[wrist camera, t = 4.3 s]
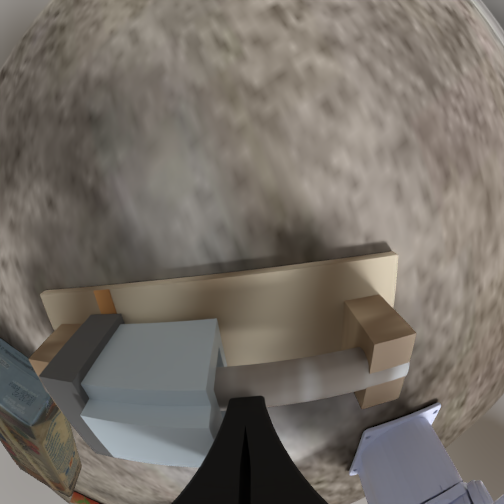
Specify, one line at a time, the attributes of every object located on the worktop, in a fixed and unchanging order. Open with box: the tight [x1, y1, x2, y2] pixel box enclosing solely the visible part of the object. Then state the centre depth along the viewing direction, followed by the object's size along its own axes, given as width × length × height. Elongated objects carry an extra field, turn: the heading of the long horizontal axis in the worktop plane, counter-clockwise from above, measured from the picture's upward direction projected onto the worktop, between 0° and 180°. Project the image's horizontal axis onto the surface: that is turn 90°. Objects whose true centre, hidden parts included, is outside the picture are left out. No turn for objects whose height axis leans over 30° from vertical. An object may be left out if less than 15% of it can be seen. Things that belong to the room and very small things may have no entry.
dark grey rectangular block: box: [39, 313, 126, 460], centre depth 11 cm, size 2×5×5 cm, turn 6°
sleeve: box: [80, 318, 227, 467], centre depth 10 cm, size 5×5×6 cm
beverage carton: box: [0, 338, 82, 497], centre depth 14 cm, size 8×19×7 cm, turn 159°
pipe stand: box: [28, 251, 416, 412], centre depth 12 cm, size 20×8×4 cm, turn 97°
